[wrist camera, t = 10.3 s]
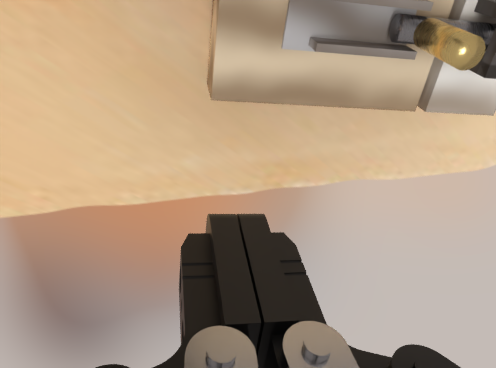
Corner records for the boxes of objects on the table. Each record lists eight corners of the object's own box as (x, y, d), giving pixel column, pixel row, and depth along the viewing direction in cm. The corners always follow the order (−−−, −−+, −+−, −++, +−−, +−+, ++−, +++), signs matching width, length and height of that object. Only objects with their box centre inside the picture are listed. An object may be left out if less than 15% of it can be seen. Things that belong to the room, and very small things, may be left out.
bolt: (394, 9, 31) (447, 32, 26) (509, 22, 33) (582, 45, 28) (386, 39, 32) (434, 68, 27) (497, 50, 35) (564, 78, 29)
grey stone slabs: (221, -112, 29) (237, -118, 23) (534, -63, 35) (622, -56, 28) (207, 82, 37) (216, 121, 30) (467, 99, 42) (523, 134, 35)
